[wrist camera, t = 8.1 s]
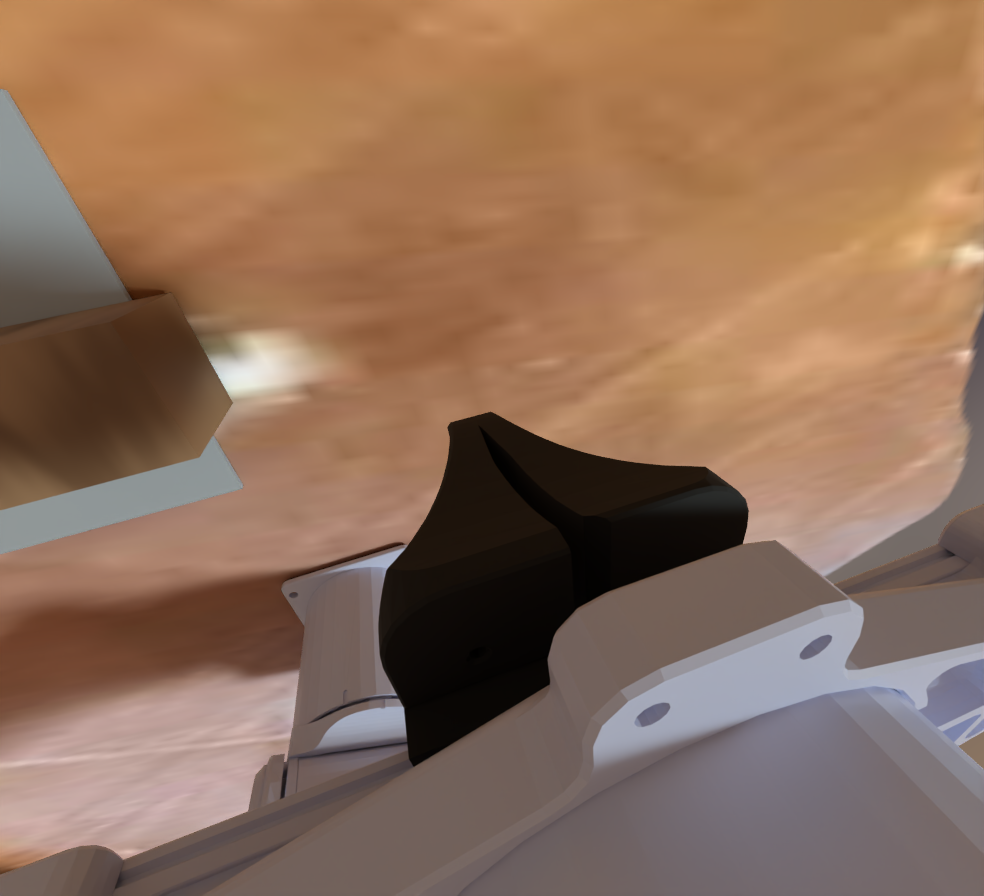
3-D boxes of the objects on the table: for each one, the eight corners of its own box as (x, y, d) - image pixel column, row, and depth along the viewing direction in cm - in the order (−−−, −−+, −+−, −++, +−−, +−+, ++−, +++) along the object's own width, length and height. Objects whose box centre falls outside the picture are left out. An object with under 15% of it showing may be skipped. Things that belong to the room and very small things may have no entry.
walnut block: (199, 457, 15) (-86, 533, 14) (232, 402, 19) (16, 457, 18) (110, 321, 12) (-255, 399, 11) (171, 292, 17) (-90, 346, 15)
